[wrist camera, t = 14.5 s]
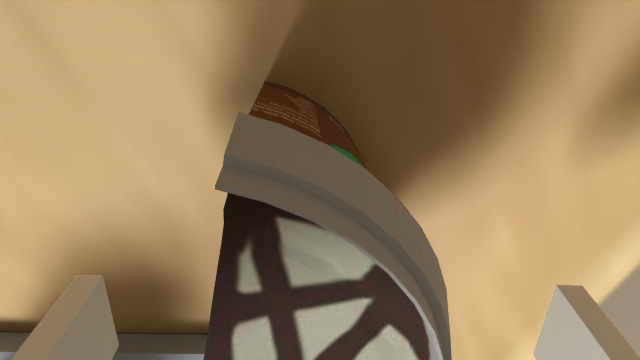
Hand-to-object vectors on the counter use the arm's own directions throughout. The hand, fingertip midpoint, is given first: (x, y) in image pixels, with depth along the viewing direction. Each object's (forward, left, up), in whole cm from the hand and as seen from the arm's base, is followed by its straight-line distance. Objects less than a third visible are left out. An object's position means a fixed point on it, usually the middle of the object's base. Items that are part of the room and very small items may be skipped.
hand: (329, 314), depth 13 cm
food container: (0, 0, -7) cm, 6 cm away
